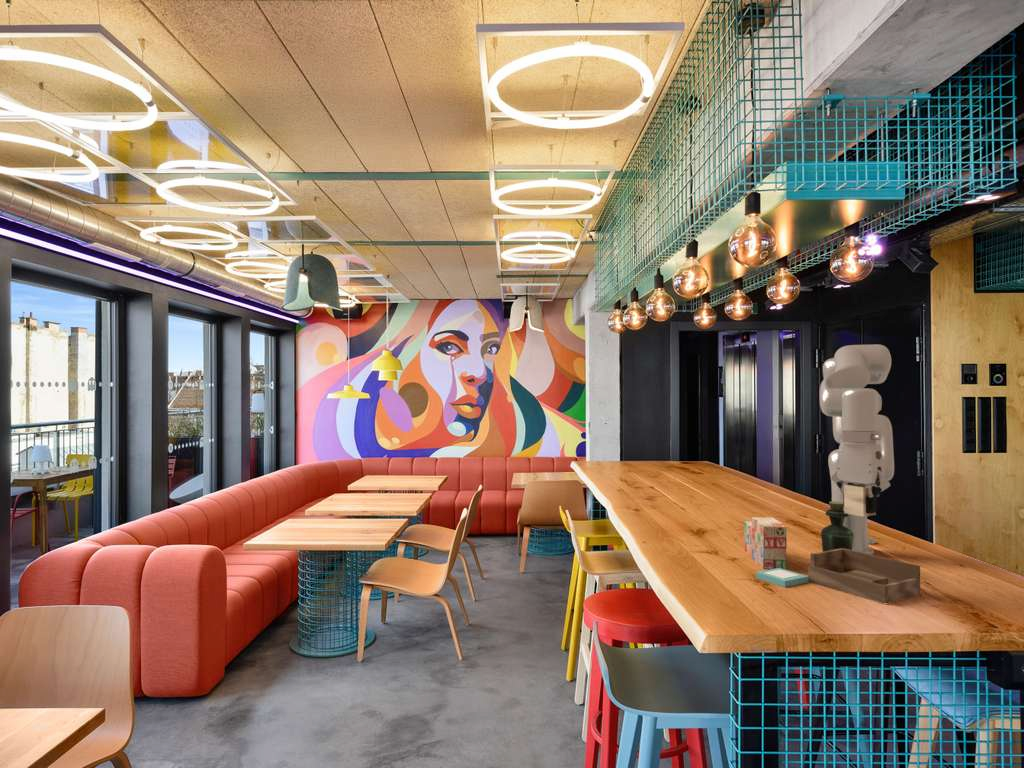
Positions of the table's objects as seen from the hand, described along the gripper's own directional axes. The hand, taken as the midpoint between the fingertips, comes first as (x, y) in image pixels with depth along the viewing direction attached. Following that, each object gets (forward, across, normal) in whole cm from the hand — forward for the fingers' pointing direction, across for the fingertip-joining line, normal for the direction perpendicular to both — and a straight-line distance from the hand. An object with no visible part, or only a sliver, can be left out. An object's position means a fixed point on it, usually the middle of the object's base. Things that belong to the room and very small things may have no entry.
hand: (859, 510), depth 157 cm
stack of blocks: (+20, +30, -1) cm, 36 cm away
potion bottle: (+20, +14, -12) cm, 27 cm away
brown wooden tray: (+19, 0, 0) cm, 19 cm away
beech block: (+1, 0, 0) cm, 1 cm away
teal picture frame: (+19, +14, +12) cm, 26 cm away
